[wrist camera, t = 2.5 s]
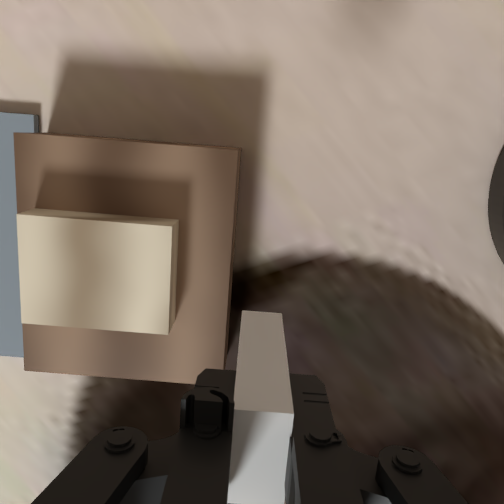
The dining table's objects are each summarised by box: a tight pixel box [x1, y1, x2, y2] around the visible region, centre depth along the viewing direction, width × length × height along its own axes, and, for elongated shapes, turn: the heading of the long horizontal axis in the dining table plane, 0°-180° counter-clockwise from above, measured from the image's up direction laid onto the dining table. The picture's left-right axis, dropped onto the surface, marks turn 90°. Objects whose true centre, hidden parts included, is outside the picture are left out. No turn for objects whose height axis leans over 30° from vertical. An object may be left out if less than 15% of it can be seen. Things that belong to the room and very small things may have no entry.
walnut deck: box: [13, 132, 241, 384], centre depth 29 cm, size 12×14×4 cm
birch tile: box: [16, 208, 179, 335], centre depth 26 cm, size 8×6×2 cm
